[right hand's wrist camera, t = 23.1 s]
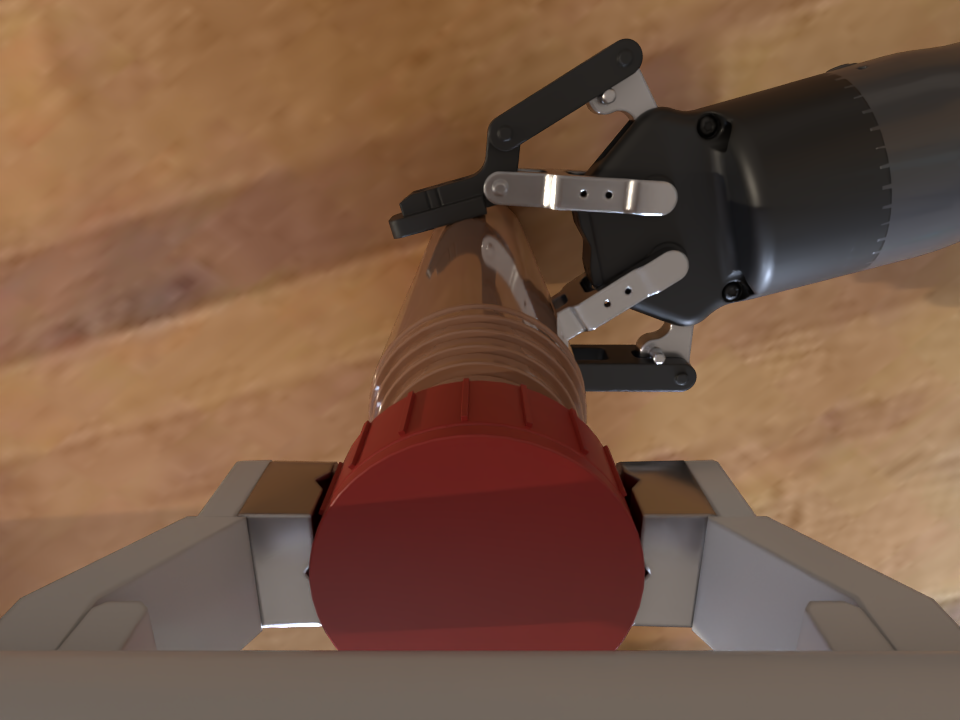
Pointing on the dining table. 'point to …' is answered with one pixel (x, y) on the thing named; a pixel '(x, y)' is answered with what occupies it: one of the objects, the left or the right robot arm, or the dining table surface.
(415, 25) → the dining table surface
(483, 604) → the cap
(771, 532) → the right robot arm
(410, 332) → the bottle
